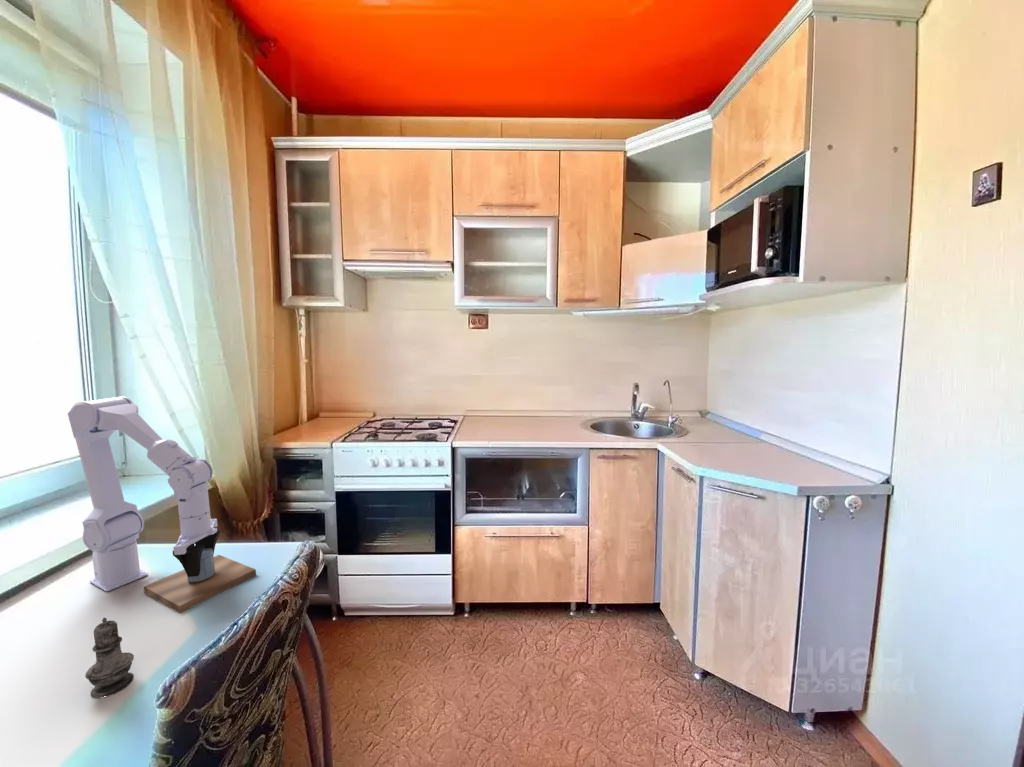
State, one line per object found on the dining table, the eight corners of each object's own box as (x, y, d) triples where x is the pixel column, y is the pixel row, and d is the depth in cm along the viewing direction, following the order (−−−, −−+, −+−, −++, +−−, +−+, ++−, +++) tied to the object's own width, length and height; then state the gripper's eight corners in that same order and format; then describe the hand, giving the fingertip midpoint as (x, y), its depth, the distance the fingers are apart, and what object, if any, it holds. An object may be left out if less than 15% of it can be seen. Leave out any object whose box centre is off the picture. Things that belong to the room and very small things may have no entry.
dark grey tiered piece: (106, 702, 67) (97, 631, 66) (78, 697, 69) (68, 627, 67) (145, 674, 73) (137, 608, 72) (118, 669, 74) (110, 604, 73)
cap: (182, 583, 97) (180, 560, 97) (195, 571, 102) (193, 549, 102) (207, 580, 98) (205, 557, 98) (219, 568, 103) (217, 546, 103)
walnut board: (144, 592, 97) (142, 574, 97) (219, 560, 111) (217, 543, 111) (180, 612, 90) (177, 592, 89) (256, 575, 104) (254, 557, 103)
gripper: (196, 525, 92) (202, 584, 94) (228, 500, 106) (233, 552, 108) (160, 528, 91) (166, 588, 92) (197, 502, 105) (202, 555, 107)
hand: (200, 569), depth 100 cm, fingers closed on cap, 5 cm apart
